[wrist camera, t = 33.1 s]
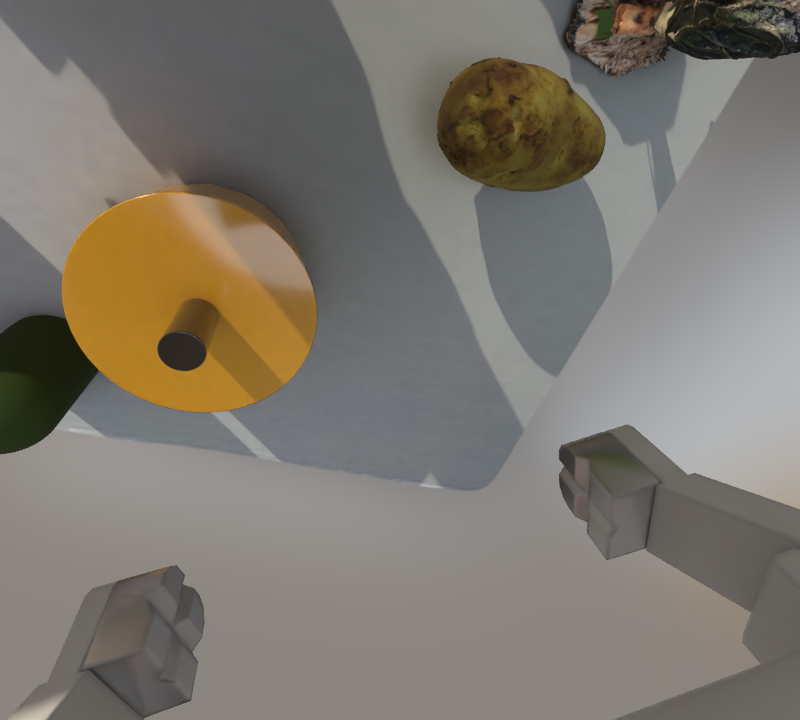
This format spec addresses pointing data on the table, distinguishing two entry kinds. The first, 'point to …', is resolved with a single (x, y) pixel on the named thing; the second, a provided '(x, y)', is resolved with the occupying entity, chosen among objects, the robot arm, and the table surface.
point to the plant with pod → (682, 30)
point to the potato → (518, 127)
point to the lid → (189, 301)
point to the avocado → (38, 379)
